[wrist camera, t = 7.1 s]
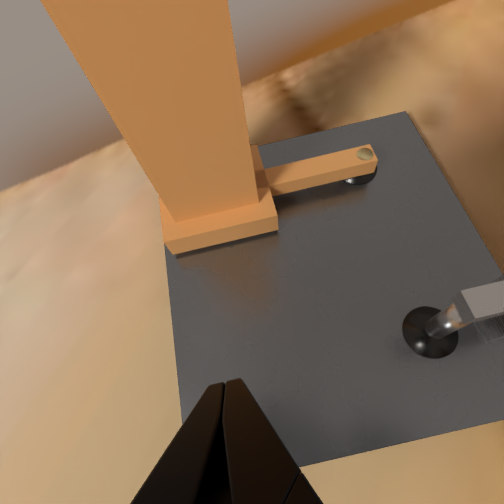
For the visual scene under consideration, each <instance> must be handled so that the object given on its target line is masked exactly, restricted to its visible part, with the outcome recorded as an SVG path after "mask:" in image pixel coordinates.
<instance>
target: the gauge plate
mask: <svg viewBox="0 0 504 504" xmlns="http://www.w3.org/2000/svg"><path fill="white" fill-rule="evenodd" d="M368 144H370V145H371V147H372V149H373V151H374V153H375V155H376V157H377V159H378V162H377V165H376V168H375V171H374V172H373V173H369V174H365V175H361V176H357V177H352V178H348V179H344V180H340V181H336V182H331V183H327V184H323V185H319V186H314V187H310V188H306V189H302V190H298V191H293V192H289V193H285V194H281V195H277V196H272V198H273V202H274V205H275V208H276V212H277V215H278V229H279V230H275V231H271V232H267V233H263V234H259V235H254V236H250V237H246V238H242V239H237V240H233V241H229V242H225V243H221V244H216V245H212V246H208V247H204V248H199V249H195V250H191V251H187V252H183V253H178V254H174V255H173V254H172V253H171V252H170V250H169V249H168V248H167V246H166V245H165V244H164V246H165V256H166V266H167V276H168V286H169V296H170V306H171V316H172V325H173V335H174V345H175V355H176V365H177V375H178V385H179V395H180V405H181V415H182V424H183V423H184V422H185V420H186V419H187V417H188V416H189V414H190V413H191V411H192V410H193V408H194V406H195V405H196V403H197V402H198V400H199V399H200V397H201V396H202V394H203V393H204V391H205V390H206V388H207V387H208V386H209V385H211V384H216V383H220V382H224V383H226V382H227V381H228V380H233V379H237V378H241V379H242V380H243V381H244V383H245V384H246V386H247V387H248V389H249V390H250V392H251V394H252V395H253V397H254V398H255V400H256V401H257V403H258V404H259V406H260V408H261V409H262V411H263V412H264V414H265V415H266V417H267V418H268V420H269V422H270V423H271V425H272V426H273V428H274V429H275V431H276V432H277V434H278V436H279V437H280V439H281V440H282V442H283V443H284V445H285V446H286V448H287V450H288V451H289V453H290V454H291V456H292V457H293V459H294V460H295V462H296V464H297V465H298V467H303V466H307V465H311V464H315V463H320V462H324V461H328V460H333V459H337V458H341V457H345V456H350V455H354V454H358V453H363V452H367V451H371V450H375V449H380V448H384V447H388V446H393V445H397V444H401V443H405V442H410V441H414V440H418V439H423V438H427V437H431V436H435V435H440V434H444V433H448V432H453V431H457V430H461V429H466V428H470V427H474V426H478V425H483V424H487V423H491V422H496V421H500V420H504V274H502V272H501V270H500V269H499V267H498V265H497V264H496V262H495V260H494V259H493V257H492V255H491V254H490V252H489V250H488V249H487V247H486V245H485V244H484V242H483V240H482V239H481V237H480V235H479V233H478V232H477V230H476V228H475V227H474V225H473V223H472V222H471V220H470V218H469V217H468V215H467V213H466V212H465V210H464V208H463V207H462V205H461V203H460V202H459V200H458V198H457V197H456V195H455V193H454V192H453V190H452V188H451V187H450V185H449V183H448V182H447V180H446V178H445V177H444V175H443V173H442V172H441V170H440V168H439V167H438V165H437V163H436V162H435V160H434V158H433V156H432V155H431V153H430V151H429V150H428V148H427V146H426V145H425V143H424V141H423V140H422V138H421V136H420V135H419V133H418V131H417V130H416V128H415V126H414V125H413V123H412V121H411V120H410V118H409V116H408V115H407V113H406V111H404V112H400V113H396V114H392V115H387V116H383V117H379V118H375V119H371V120H366V121H362V122H358V123H354V124H350V125H345V126H341V127H337V128H333V129H329V130H324V131H320V132H316V133H312V134H308V135H303V136H299V137H295V138H291V139H287V140H282V141H278V142H274V143H270V144H266V145H261V146H258V150H259V153H260V157H261V160H262V163H263V167H264V169H267V168H271V167H275V166H280V165H284V164H288V163H292V162H296V161H301V160H305V159H309V158H313V157H317V156H322V155H326V154H330V153H334V152H339V151H343V150H347V149H351V148H355V147H360V146H364V145H368Z"/></svg>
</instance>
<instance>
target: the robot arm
mask: <svg viewBox="0 0 504 504" xmlns="http://www.w3.org/2000/svg"><path fill="white" fill-rule="evenodd" d="M130 504H323V502H322V501H321V499H320V498H319V497H318V495H317V494H316V492H315V491H314V489H313V488H312V486H311V485H310V483H309V482H308V480H307V479H306V477H305V476H304V474H303V473H302V472H301V470H300V468H299V467H298V465H297V464H296V462H295V460H294V459H293V457H292V456H291V454H290V453H289V451H288V450H287V448H286V446H285V445H284V443H283V442H282V440H281V439H280V437H279V436H278V434H277V432H276V431H275V429H274V428H273V426H272V425H271V423H270V422H269V420H268V418H267V417H266V415H265V414H264V412H263V411H262V409H261V408H260V406H259V404H258V403H257V401H256V400H255V398H254V397H253V395H252V394H251V392H250V390H249V389H248V387H247V386H246V384H245V383H244V381H243V380H242V379H241V378H237V379H233V380H228V381H227V382H226V383H224V382H220V383H216V384H211V385H209V386H208V387H207V388H206V390H205V391H204V393H203V394H202V396H201V397H200V399H199V400H198V402H197V403H196V405H195V406H194V408H193V410H192V411H191V413H190V414H189V416H188V417H187V419H186V420H185V422H184V423H183V425H182V426H181V428H180V429H179V431H178V432H177V434H176V435H175V437H174V438H173V440H172V441H171V443H170V444H169V446H168V447H167V449H166V450H165V452H164V453H163V455H162V456H161V458H160V459H159V461H158V462H157V464H156V466H155V467H154V469H153V470H152V472H151V473H150V475H149V476H148V478H147V479H146V481H145V482H144V484H143V485H142V487H141V488H140V490H139V491H138V493H137V494H136V496H135V497H134V499H133V500H132V502H131V503H130Z"/></svg>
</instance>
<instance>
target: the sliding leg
mask: <svg viewBox="0 0 504 504" xmlns="http://www.w3.org/2000/svg"><path fill="white" fill-rule="evenodd" d="M40 1H41V2H42V4H43V5H44V7H45V9H46V11H47V12H48V14H49V15H50V17H51V19H52V20H53V22H54V24H55V25H56V27H57V29H58V30H59V32H60V34H61V35H62V37H63V38H64V40H65V42H66V43H67V45H68V47H69V48H70V50H71V52H72V53H73V55H74V57H75V58H76V60H77V61H78V63H79V65H80V66H81V68H82V70H83V71H84V73H85V75H86V76H87V78H88V79H89V81H90V83H91V84H92V86H93V88H94V89H95V91H96V93H97V94H98V96H99V98H100V99H101V101H102V103H103V104H104V106H105V107H106V109H107V110H108V112H109V114H110V116H111V117H112V119H113V121H114V122H115V124H116V125H117V127H118V129H119V130H120V132H121V134H122V135H123V137H124V139H125V140H126V142H127V144H128V145H129V147H130V149H131V150H132V152H133V153H134V155H135V157H136V158H137V160H138V162H139V163H140V165H141V167H142V168H143V170H144V172H145V173H146V175H147V176H148V178H149V180H150V181H151V183H152V185H153V186H154V188H155V190H156V191H157V193H158V195H159V203H160V213H161V223H162V233H163V242H164V244H165V245H166V246H167V248H168V249H169V250H170V252H171V253H172V254H173V255H174V254H178V253H183V252H187V251H191V250H195V249H199V248H204V247H208V246H212V245H216V244H221V243H225V242H229V241H233V240H237V239H242V238H246V237H250V236H254V235H259V234H263V233H267V232H271V231H275V230H279V229H278V215H277V212H276V208H275V205H274V202H273V198H272V196H277V195H281V194H285V193H289V192H293V191H298V190H302V189H306V188H310V187H314V186H319V185H323V184H327V183H331V182H336V181H340V180H344V179H348V178H352V177H357V176H361V175H365V174H369V173H373V172H374V171H375V168H376V165H377V162H378V159H377V157H376V155H375V153H374V151H373V149H372V147H371V145H370V144H368V145H364V146H360V147H355V148H351V149H347V150H343V151H339V152H334V153H330V154H326V155H322V156H317V157H313V158H309V159H305V160H301V161H296V162H292V163H288V164H284V165H280V166H275V167H271V168H267V169H264V167H263V163H262V160H261V157H260V153H259V150H258V146H257V144H255V145H251V146H250V142H249V135H248V129H247V122H246V116H245V110H244V103H243V97H242V90H241V84H240V77H239V71H238V65H237V58H236V52H235V45H234V39H233V33H232V27H231V20H230V14H229V8H228V0H40Z"/></svg>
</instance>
